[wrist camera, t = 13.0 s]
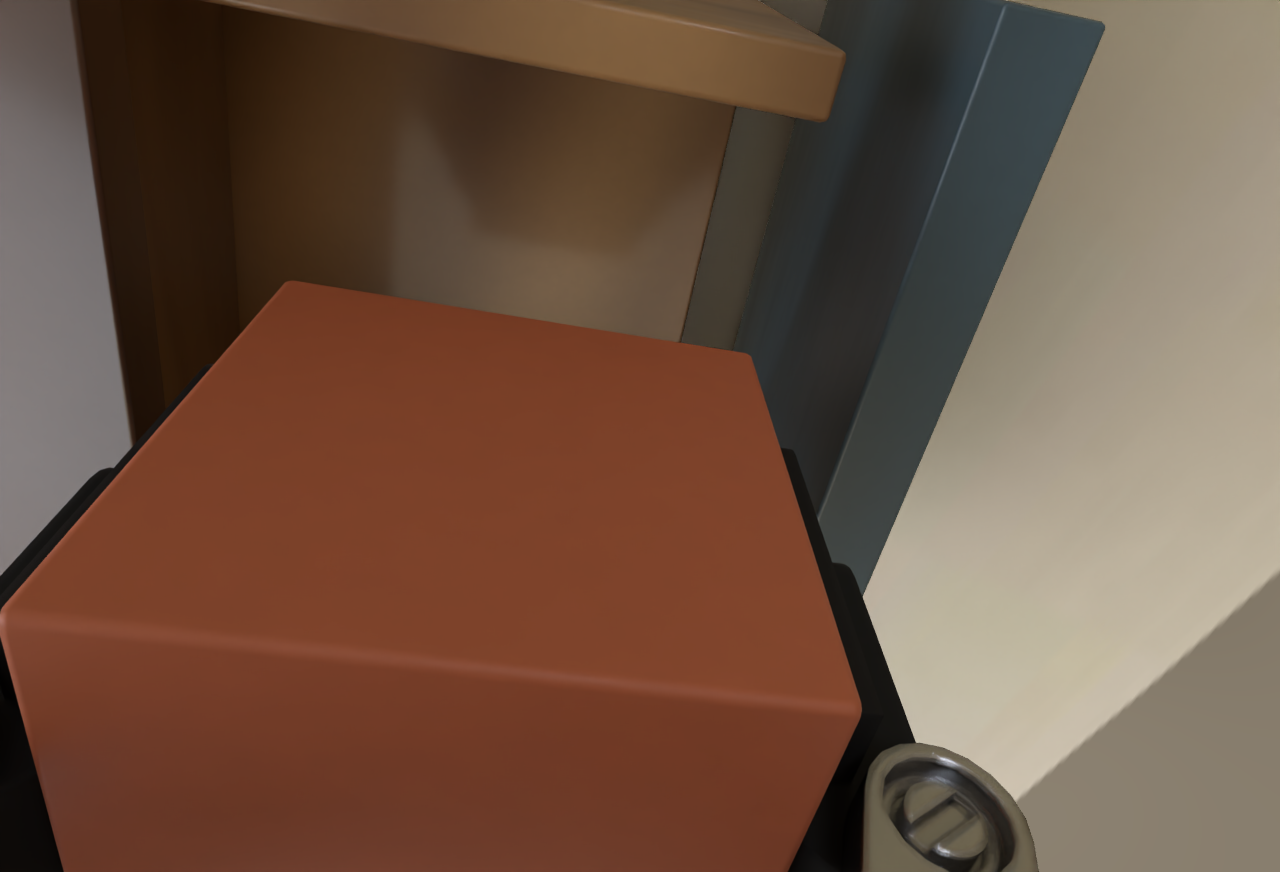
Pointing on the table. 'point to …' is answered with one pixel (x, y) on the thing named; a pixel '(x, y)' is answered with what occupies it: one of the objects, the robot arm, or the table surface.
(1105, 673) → the table surface
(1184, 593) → the table surface
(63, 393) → the cabinet
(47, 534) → the robot arm
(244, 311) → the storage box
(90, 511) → the block
